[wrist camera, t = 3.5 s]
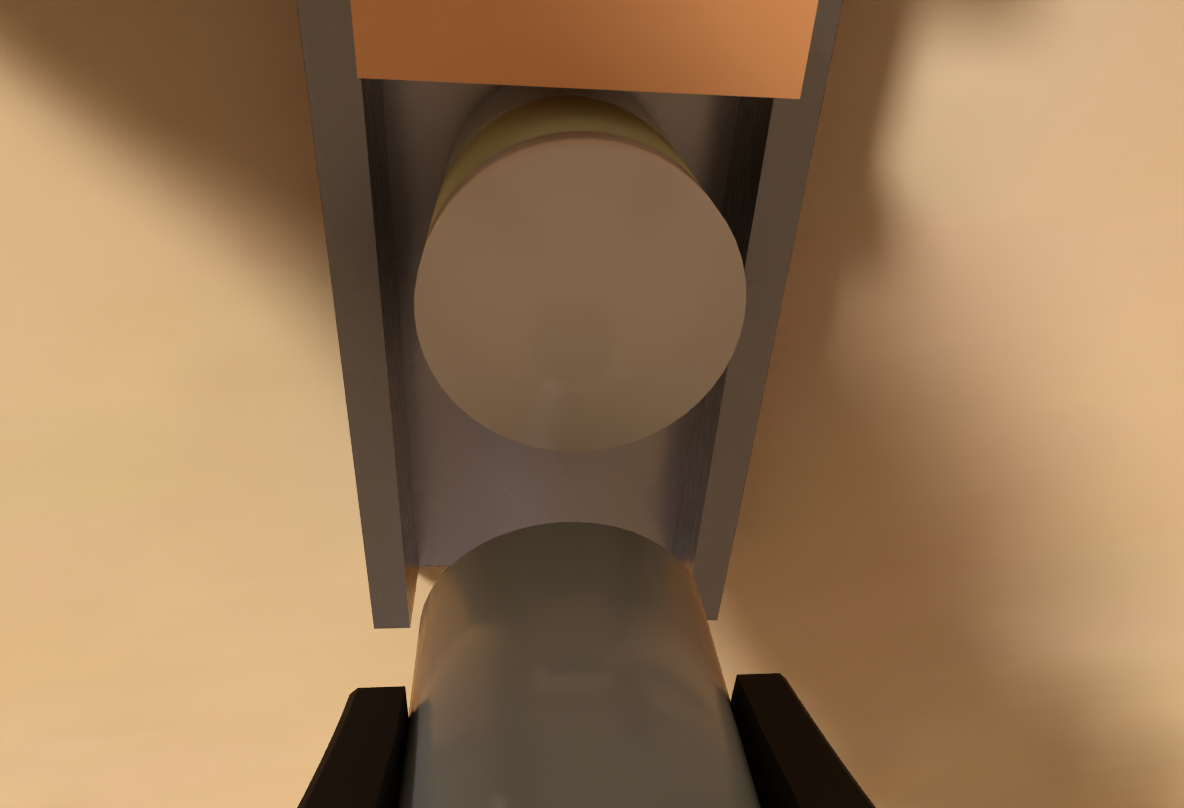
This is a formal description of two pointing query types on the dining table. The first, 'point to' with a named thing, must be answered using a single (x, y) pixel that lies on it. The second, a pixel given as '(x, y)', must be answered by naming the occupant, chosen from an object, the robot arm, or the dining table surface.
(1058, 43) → the dining table surface
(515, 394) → the jar
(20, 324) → the dining table surface
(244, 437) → the dining table surface
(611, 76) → the block
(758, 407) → the lane
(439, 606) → the jar
